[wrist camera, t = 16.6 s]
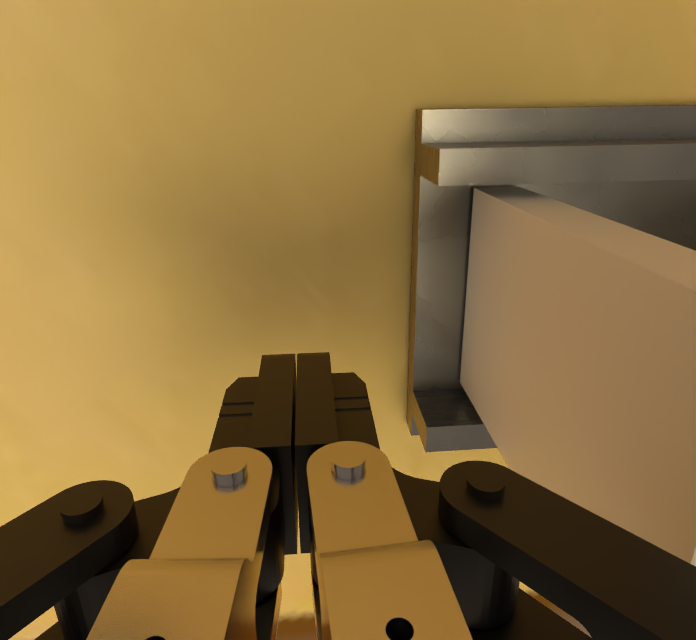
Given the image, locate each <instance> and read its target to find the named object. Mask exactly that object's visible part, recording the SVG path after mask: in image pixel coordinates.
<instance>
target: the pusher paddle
mask: <svg viewBox="0 0 696 640" xmlns="http://www.w3.org/2000/svg"><path fill="white" fill-rule="evenodd" d="M460 383H461V385H462V387H463V388H464V390H465V392H466V394H467V395H468V397H469V399H470V401H471V402H472V404H473V406H474V408H475V409H476V411H477V413H478V415H479V416H480V418H481V420H482V422H483V423H484V425H485V427H486V429H487V430H488V432H489V434H490V436H491V437H492V439H493V441H494V443H495V444H496V446H497V448H498V450H499V451H500V453H501V455H502V457H503V458H504V460H505V462H506V464H507V465H508V467H509V469H510V470H512V471H514V472H516V473H518V474H520V475H522V476H524V477H526V478H528V479H530V480H531V481H533V482H535V483H537V484H539V485H541V486H543V487H545V488H547V489H549V490H551V491H552V492H554V493H556V494H558V495H560V496H562V497H564V498H566V499H568V500H570V501H572V502H573V503H575V504H577V505H579V506H581V507H583V508H585V509H587V510H589V511H591V512H592V513H594V514H596V515H598V516H600V517H602V518H604V519H606V520H608V521H610V522H612V523H613V524H615V525H617V526H619V527H621V528H623V529H625V530H627V531H629V532H631V533H633V534H634V535H636V536H638V537H640V538H642V539H644V540H646V541H648V542H650V543H652V544H654V545H655V546H657V547H659V548H661V549H663V550H665V551H667V552H669V553H671V554H673V555H675V556H676V557H678V558H680V559H682V560H684V561H686V562H688V563H690V564H692V565H694V566H696V251H695V250H692V249H689V248H687V247H684V246H681V245H678V244H676V243H673V242H670V241H667V240H665V239H662V238H659V237H656V236H654V235H651V234H648V233H645V232H643V231H640V230H637V229H634V228H632V227H629V226H626V225H623V224H621V223H618V222H615V221H612V220H609V219H607V218H604V217H601V216H598V215H596V214H593V213H590V212H587V211H585V210H582V209H579V208H576V207H574V206H571V205H568V204H565V203H563V202H560V201H557V200H554V199H552V198H549V197H546V196H543V195H541V194H538V193H535V192H532V191H530V190H527V189H524V188H521V187H519V186H517V187H479V188H474V193H473V206H472V220H471V234H470V248H469V262H468V276H467V289H466V303H465V317H464V331H463V345H462V359H461V373H460Z"/></svg>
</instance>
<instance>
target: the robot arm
mask: <svg viewBox="0 0 696 640" xmlns="http://www.w3.org/2000/svg"><path fill="white" fill-rule="evenodd" d="M298 510H299V528H300V546H301V553H310V555H311V576H312V595H313V605H314V614H315V624H316V632H317V640H696V566H694V565H692V564H690V563H688V562H686V561H684V560H682V559H680V558H678V557H676V556H675V555H673V554H671V553H669V552H667V551H665V550H663V549H661V548H659V547H657V546H655V545H654V544H652V543H650V542H648V541H646V540H644V539H642V538H640V537H638V536H636V535H634V534H633V533H631V532H629V531H627V530H625V529H623V528H621V527H619V526H617V525H615V524H613V523H612V522H610V521H608V520H606V519H604V518H602V517H600V516H598V515H596V514H594V513H592V512H591V511H589V510H587V509H585V508H583V507H581V506H579V505H577V504H575V503H573V502H572V501H570V500H568V499H566V498H564V497H562V496H560V495H558V494H556V493H554V492H552V491H551V490H549V489H547V488H545V487H543V486H541V485H539V484H537V483H535V482H533V481H531V480H530V479H528V478H526V477H524V476H522V475H520V474H518V473H516V472H514V471H512V470H510V469H508V468H506V467H504V466H501V465H498V464H495V463H491V462H486V461H466V462H461V463H458V464H455V465H453V466H451V467H450V468H448V469H447V470H446V471H445V472H444V473H443V475H442V477H441V479H440V482H436V481H430V480H424V479H419V478H414V477H411V476H408V475H405V474H403V473H401V472H399V471H397V470H395V469H394V468H392V467H391V464H390V462H389V460H388V458H387V456H386V455H385V454H384V453H383V452H382V451H381V450H380V447H379V443H378V438H377V434H376V429H375V425H374V420H373V416H372V411H371V407H370V402H369V399H368V393H367V389H366V384H365V383H364V382H363V381H362V380H361V379H360V378H359V377H358V376H357V375H356V374H355V373H354V372H353V373H331V364H330V354H329V352H325V353H300V354H297V380H296V362H295V354H278V355H262V360H261V366H260V371H259V377H241V378H238V379H237V380H236V381H235V382H234V383H233V384H232V385H231V386H229V387H228V388H227V389H226V392H225V395H224V399H223V403H222V406H221V410H220V413H219V418H218V421H217V424H216V428H215V431H214V435H213V439H212V442H211V446H210V450H209V453H208V454H206V455H204V456H203V457H201V458H199V459H198V460H197V461H196V462H195V463H193V465H192V466H191V467H190V468H189V470H188V472H187V474H186V476H185V478H184V481H183V483H182V485H181V487H179V488H177V489H175V490H172V491H170V492H167V493H164V494H161V495H157V496H153V497H150V498H146V499H143V500H139V501H135V502H134V499H133V495H132V492H131V491H130V489H129V488H128V487H127V486H125V485H123V484H121V483H119V482H115V481H107V480H100V481H91V482H86V483H82V484H79V485H76V486H73V487H70V488H68V489H66V490H64V491H62V492H60V493H58V494H56V495H54V496H53V497H51V498H49V499H48V500H46V501H44V502H42V503H41V504H39V505H37V506H36V507H34V508H32V509H30V510H29V511H27V512H25V513H23V514H22V515H20V516H18V517H17V518H15V519H13V520H11V521H10V522H8V523H6V524H5V525H3V526H1V527H0V640H8V639H10V638H11V637H12V636H14V635H15V634H16V633H18V632H19V631H20V630H22V629H23V628H24V627H26V626H27V625H28V624H30V623H31V622H32V621H34V620H35V619H36V618H38V617H39V616H40V615H42V614H43V613H44V612H46V611H47V610H49V609H50V608H51V607H53V606H54V608H55V611H56V615H57V618H58V622H57V623H55V624H54V625H53V626H52V627H50V628H49V629H48V630H46V631H45V632H44V633H42V634H41V635H40V636H39V637H37V638H36V639H35V640H276V633H277V626H278V619H279V611H280V604H281V597H282V588H281V580H282V577H283V572H284V555H288V554H297V532H298ZM520 581H521V582H522V583H524V584H525V585H527V586H528V587H529V588H531V589H532V590H534V591H535V592H537V593H538V594H540V595H541V596H543V597H544V598H546V599H547V600H549V601H550V602H552V603H553V604H555V605H556V606H558V607H559V608H560V609H562V610H563V611H565V612H566V613H568V614H569V615H571V616H572V617H574V618H575V619H576V620H578V621H579V622H580V623H581V624H582V625H583V626H584V627H585V628H586V629H587V631H588V632H589V633H590V635H591V637H592V638H593V639H592V638H591V637H589V636H588V635H586V634H585V633H583V632H582V631H580V630H579V629H578V628H576V627H575V626H573V625H572V624H570V623H569V622H568V621H566V620H565V619H563V618H562V617H560V616H559V615H557V614H556V613H554V612H553V611H552V610H550V609H549V608H547V607H546V606H544V605H543V604H541V603H540V602H538V601H537V600H536V599H534V598H533V597H531V596H530V595H528V594H527V593H525V592H524V591H523V590H521V589H520V588H519V582H520Z"/></svg>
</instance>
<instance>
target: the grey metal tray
mask: <svg viewBox="0 0 696 640" xmlns="http://www.w3.org/2000/svg"><path fill="white" fill-rule="evenodd" d="M517 186H519V187H521V188H524V189H527V190H530V191H532V192H535V193H538V194H541V195H543V196H546V197H549V198H552V199H554V200H557V201H560V202H563V203H565V204H568V205H571V206H574V207H576V208H579V209H582V210H585V211H587V212H590V213H593V214H596V215H598V216H601V217H604V218H607V219H609V220H612V221H615V222H618V223H621V224H623V225H626V226H629V227H632V228H634V229H637V230H640V231H643V232H645V233H648V234H651V235H654V236H656V237H659V238H662V239H665V240H667V241H670V242H673V243H676V244H678V245H681V246H684V247H687V248H689V249H692V250H695V251H696V105H672V106H610V107H548V108H486V109H424V110H416V136H415V168H414V201H413V233H412V265H411V297H410V330H409V362H408V394H407V424H408V427H409V430H410V433H411V435H420V438H421V440H422V443H423V446H424V449H425V452H436V451H452V450H469V449H486V448H497V446H496V444H495V443H494V441H493V439H492V437H491V436H490V434H489V432H488V430H487V429H486V427H485V425H484V423H483V422H482V420H481V418H480V416H479V415H478V413H477V411H476V409H475V408H474V406H473V404H472V402H471V401H470V399H469V397H468V395H467V394H466V392H465V390H464V388H463V387H462V385H461V383H460V373H461V359H462V345H463V331H464V317H465V303H466V289H467V276H468V262H469V248H470V234H471V220H472V206H473V193H474V188H479V187H517Z"/></svg>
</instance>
